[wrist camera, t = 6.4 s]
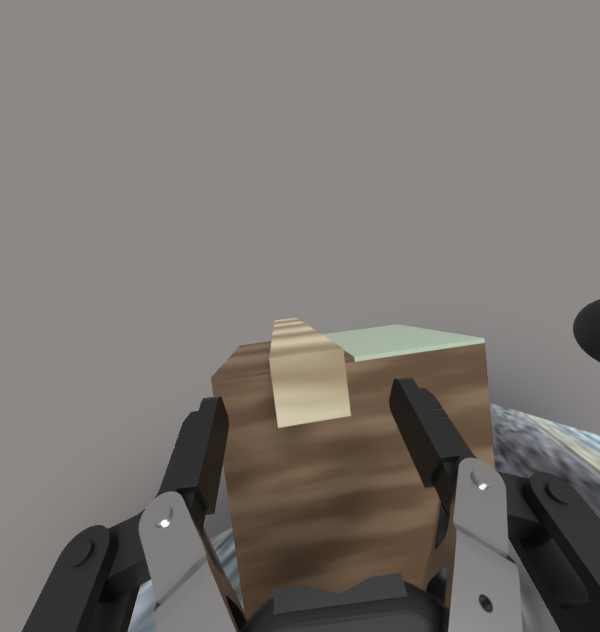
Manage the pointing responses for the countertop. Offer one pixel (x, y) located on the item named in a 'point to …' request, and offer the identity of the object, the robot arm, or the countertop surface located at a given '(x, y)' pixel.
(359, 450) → the walnut stand
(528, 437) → the countertop surface
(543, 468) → the countertop surface
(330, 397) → the beech baton
